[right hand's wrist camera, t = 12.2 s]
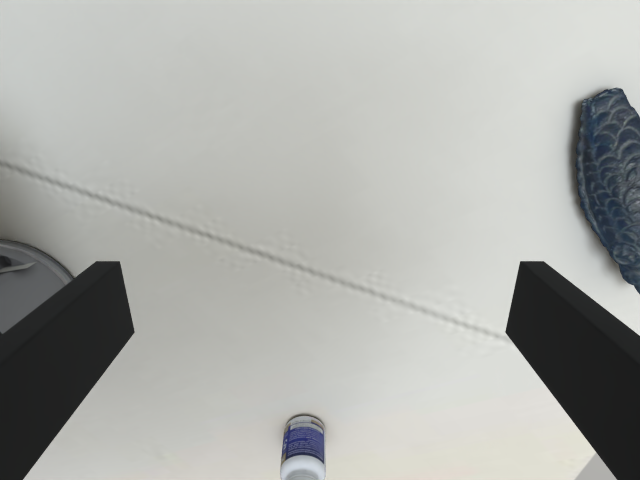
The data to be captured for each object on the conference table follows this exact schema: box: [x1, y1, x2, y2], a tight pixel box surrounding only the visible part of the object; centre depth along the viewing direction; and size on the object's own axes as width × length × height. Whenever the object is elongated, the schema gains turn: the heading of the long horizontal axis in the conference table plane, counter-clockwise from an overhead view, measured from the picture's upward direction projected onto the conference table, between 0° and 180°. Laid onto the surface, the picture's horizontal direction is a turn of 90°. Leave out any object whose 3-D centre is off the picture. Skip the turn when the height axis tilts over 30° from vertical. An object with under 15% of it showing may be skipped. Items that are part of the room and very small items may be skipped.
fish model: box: [575, 88, 640, 294], centre depth 36 cm, size 7×21×5 cm, turn 27°
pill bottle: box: [280, 416, 326, 480], centre depth 45 cm, size 5×5×9 cm
